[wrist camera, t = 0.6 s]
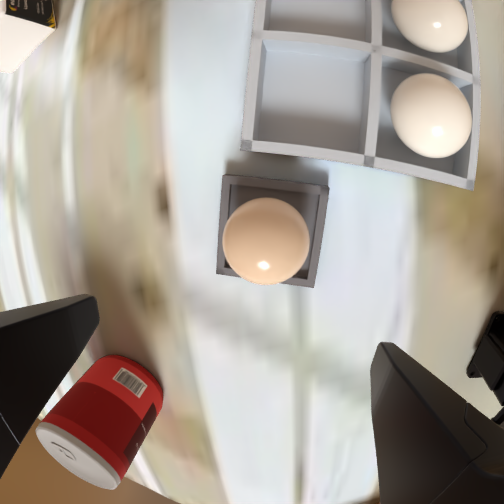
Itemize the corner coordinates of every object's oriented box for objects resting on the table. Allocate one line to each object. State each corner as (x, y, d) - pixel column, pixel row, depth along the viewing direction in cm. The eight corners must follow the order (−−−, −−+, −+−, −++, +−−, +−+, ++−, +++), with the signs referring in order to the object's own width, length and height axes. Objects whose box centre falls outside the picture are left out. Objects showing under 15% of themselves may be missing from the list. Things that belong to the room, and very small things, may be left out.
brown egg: (314, 198, 18) (317, 211, 14) (303, 271, 20) (302, 306, 15) (236, 188, 19) (214, 199, 14) (230, 261, 20) (209, 292, 16)
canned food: (87, 347, 26) (20, 415, 16) (154, 357, 25) (90, 447, 14) (111, 403, 28) (62, 471, 18) (174, 415, 27) (131, 500, 17)
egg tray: (444, -48, 10) (454, -62, 8) (454, 185, 17) (473, 190, 14) (273, -81, 12) (269, -99, 9) (248, 151, 18) (240, 150, 16)
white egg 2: (450, 94, 14) (487, 81, 10) (445, 164, 16) (484, 169, 11) (382, 75, 15) (406, 51, 10) (377, 148, 16) (401, 146, 12)
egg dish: (328, 186, 18) (329, 187, 17) (313, 282, 20) (313, 287, 19) (226, 174, 19) (222, 175, 18) (219, 268, 21) (216, 273, 20)
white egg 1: (446, 13, 12) (475, -14, 8) (450, 70, 14) (485, 51, 9) (382, -7, 13) (398, -43, 8) (383, 50, 14) (405, 21, 10)
